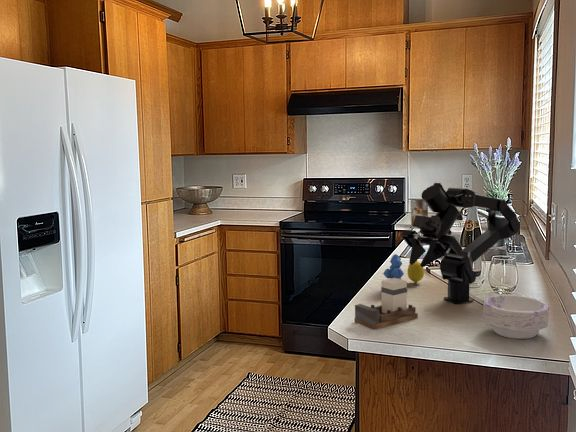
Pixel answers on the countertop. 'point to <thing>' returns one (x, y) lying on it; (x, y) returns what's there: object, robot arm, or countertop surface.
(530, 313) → the paper bowls
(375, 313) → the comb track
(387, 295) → the white banded pillar
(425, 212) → the coffee box
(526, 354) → the countertop surface
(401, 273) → the grapes
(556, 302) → the countertop surface
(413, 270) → the lemon
